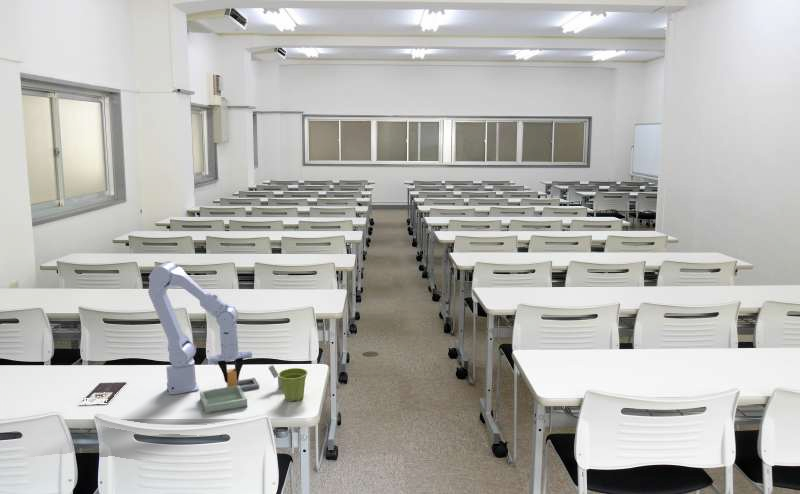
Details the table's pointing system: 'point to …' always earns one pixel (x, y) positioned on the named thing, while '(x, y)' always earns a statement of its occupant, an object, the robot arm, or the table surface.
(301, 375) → the plant pot
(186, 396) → the table surface
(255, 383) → the frame
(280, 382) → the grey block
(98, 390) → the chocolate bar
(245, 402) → the tray
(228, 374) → the pin
